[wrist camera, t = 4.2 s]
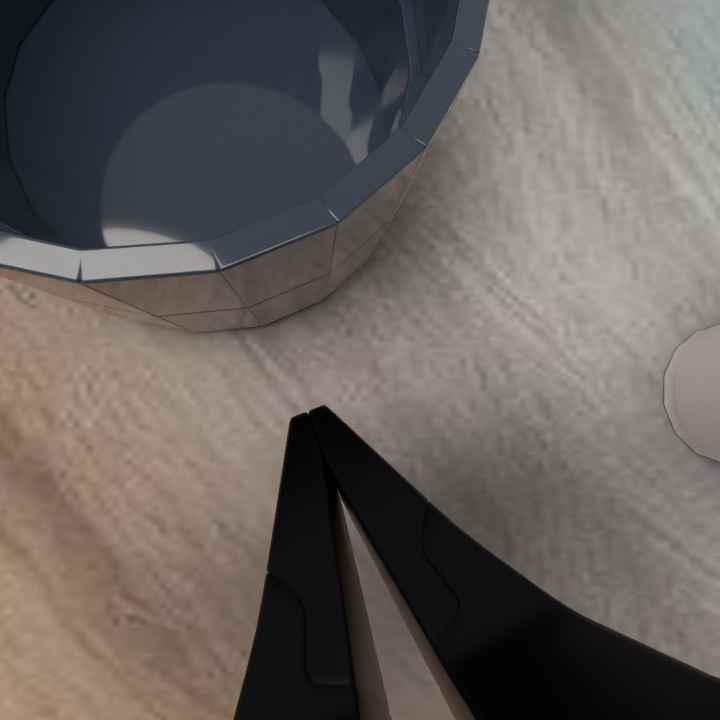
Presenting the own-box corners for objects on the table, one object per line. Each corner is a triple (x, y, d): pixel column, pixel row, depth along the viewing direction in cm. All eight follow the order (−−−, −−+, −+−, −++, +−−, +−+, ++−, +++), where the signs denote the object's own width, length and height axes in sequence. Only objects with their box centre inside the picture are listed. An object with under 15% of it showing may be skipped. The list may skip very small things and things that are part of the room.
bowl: (367, 369, 17) (425, 356, 8) (-62, 283, 15) (-535, 155, 7) (435, 11, 18) (546, -309, 10) (49, -109, 16) (-229, -634, 8)
